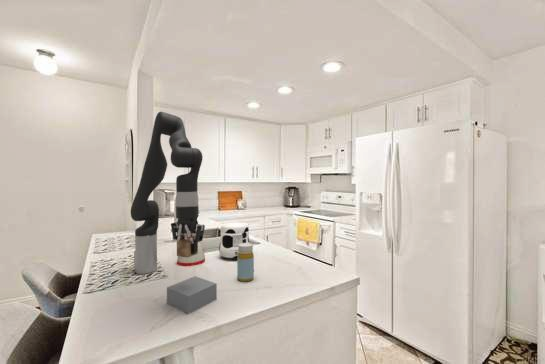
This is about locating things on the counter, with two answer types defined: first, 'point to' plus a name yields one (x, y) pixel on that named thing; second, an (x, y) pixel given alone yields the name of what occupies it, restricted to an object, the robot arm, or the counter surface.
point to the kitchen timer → (192, 258)
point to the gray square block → (191, 294)
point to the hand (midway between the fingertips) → (187, 252)
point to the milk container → (233, 238)
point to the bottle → (245, 262)
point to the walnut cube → (185, 248)
